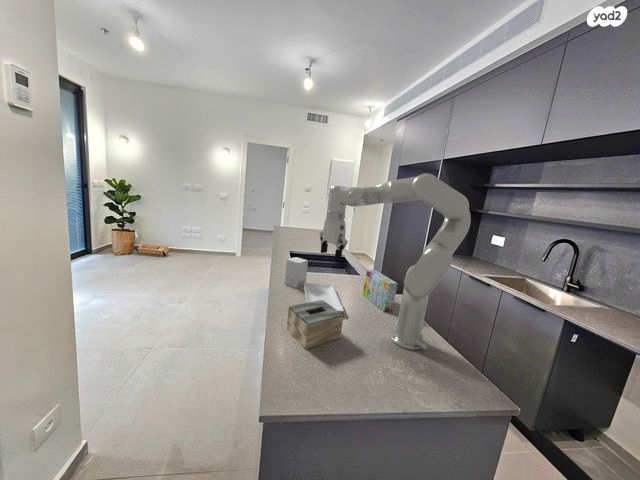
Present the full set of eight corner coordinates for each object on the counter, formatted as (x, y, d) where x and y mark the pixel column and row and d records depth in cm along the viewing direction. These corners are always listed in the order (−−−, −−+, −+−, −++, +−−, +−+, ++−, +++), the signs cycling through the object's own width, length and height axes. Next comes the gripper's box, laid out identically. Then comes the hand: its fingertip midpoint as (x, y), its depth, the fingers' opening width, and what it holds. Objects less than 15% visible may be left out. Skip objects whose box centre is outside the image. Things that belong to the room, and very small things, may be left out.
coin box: (340, 338, 103) (343, 314, 101) (305, 349, 94) (308, 323, 92) (319, 321, 114) (322, 299, 112) (286, 329, 105) (288, 306, 103)
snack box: (393, 311, 132) (398, 283, 129) (383, 312, 130) (388, 283, 127) (370, 294, 151) (374, 268, 148) (361, 294, 149) (365, 269, 146)
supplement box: (306, 285, 153) (308, 260, 150) (296, 289, 146) (299, 263, 143) (293, 280, 158) (296, 256, 155) (283, 284, 150) (286, 259, 148)
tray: (332, 290, 151) (332, 284, 151) (343, 317, 121) (344, 310, 120) (302, 288, 149) (303, 282, 148) (306, 315, 118) (307, 308, 118)
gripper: (356, 219, 106) (350, 260, 110) (329, 213, 120) (325, 250, 123) (342, 219, 102) (337, 262, 105) (316, 212, 115) (311, 250, 119)
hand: (330, 255), depth 114 cm, fingers open, 9 cm apart
